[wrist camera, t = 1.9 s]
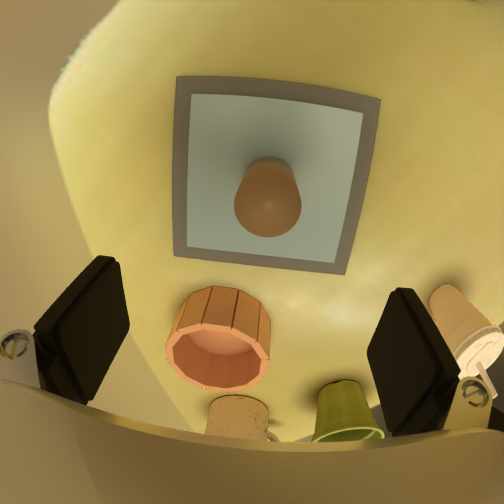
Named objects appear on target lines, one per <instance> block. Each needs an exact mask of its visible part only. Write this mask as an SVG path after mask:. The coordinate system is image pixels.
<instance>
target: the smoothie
mask: <svg viewBox="0 0 504 504" xmlns="http://www.w3.org/2000/svg"><path fill="white" fill-rule="evenodd" d="M429 306H430V308H431V311H432V313H433V316H434V318H435V321H436V324H437V326H438V329H439V331H440V333H441V335H442V337H443V338H444V340H445V342H446V344H447V345H448V347H449V349H450V351H451V353H452V354H453V356H454V358H455V360H456V362H457V364H458V366H459V367H460V369H461V372H460V374H459V375H458V377H459V379H460V380H461V379H462V378H464V377H467V376H471V377H474V376H476V375H478V374H481V376H482V378H483V380H484V382H485V384H486V385H487V386H488V388H489V389H490V391H491V394H492V399H493V398H495V397H496V396H497V393H496V391H495V389H494V387H493V385H492V383H491V381H490V379H489V377H488V375H487V373H486V371H485V370H486V369H487V368H488V367H489V366H490V365H491V364H492V363H493V362H494V361H495V360H496V359H497V357H498V356H499V355H500V353H501V351H502V349H503V346H504V334H503V333H502V331H501V329H500V327H498V326H496V325H492V324H491V323H490V322H489V320H488V319H487V318H486V317H485V316H484V315H483V314H482V313H481V312H480V311H479V310H478V309H477V308H476V307H475V306H474V305H473V304H472V303H471V302H470V301H469V300H468V299H467V298H465V297H464V296H463V295H462V294H461V293H460V292H459V291H458V290H457V289H456V288H455V287H454V286H453V285H451V284H445V285H442V286H440V287H439V288H437V289H436V290H435V291H434V292H433V294H432V295H431V297H430V300H429Z"/></svg>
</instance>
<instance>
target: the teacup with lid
mask: <svg viewBox="0 0 504 504" xmlns="http://www.w3.org/2000/svg"><path fill="white" fill-rule="evenodd" d="M268 414H269V413H268V409H267V408H266V406H265V405H264V404H263V403H261V402H259V401H258V400H255V399H253V398H249V397H245V396H225V397H221V398H218V399H216V400H215V401H213V403H212V404H211V406H210V410H209V415H208V421H207V426H206V431H205V434H206V435H213V436H220V437H228V438H237V439H248V440H260V441H267V438H268V439H270V440H271V441H276V442H280V441H279V439H278V438H277V437H276V436H275V435H274V434H273V433H271V432H269V431H268Z"/></svg>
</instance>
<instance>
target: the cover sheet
mask: <svg viewBox="0 0 504 504" xmlns="http://www.w3.org/2000/svg"><path fill="white" fill-rule="evenodd" d="M362 118H363V113H359V112H355V111H350V110H345V109H340V108H334V107H329V106H323V105H317V104H311V103H304V102H297V101H290V100H282V99H273V98H263V97H252V96H238V95H219V94H192V95H191V109H190V127H189V148H188V179H187V247H196V248H205V249H213V250H222V251H231V252H240V253H249V254H258V255H267V256H276V257H285V258H294V259H303V260H312V261H321V262H330V263H334V261H335V257H336V253H337V249H338V245H339V240H340V236H341V232H342V227H343V223H344V218H345V214H346V209H347V204H348V199H349V194H350V189H351V184H352V179H353V173H354V168H355V162H356V157H357V151H358V145H359V138H360V132H361V125H362Z"/></svg>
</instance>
